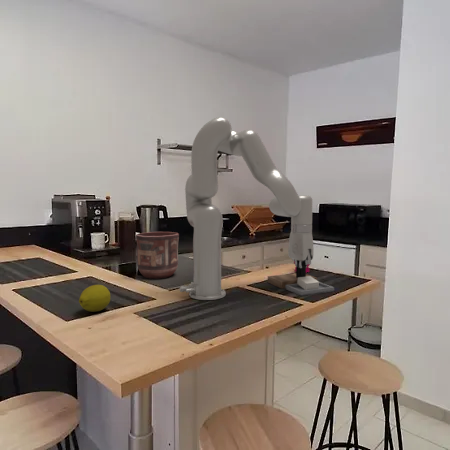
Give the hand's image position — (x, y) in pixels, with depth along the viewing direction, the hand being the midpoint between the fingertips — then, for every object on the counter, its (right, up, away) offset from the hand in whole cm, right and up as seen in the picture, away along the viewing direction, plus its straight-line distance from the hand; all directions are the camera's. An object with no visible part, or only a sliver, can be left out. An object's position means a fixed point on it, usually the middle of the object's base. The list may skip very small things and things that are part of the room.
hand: (300, 277), depth 141 cm
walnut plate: (-2, -3, +5) cm, 6 cm away
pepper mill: (+6, -1, +26) cm, 27 cm away
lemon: (-68, -7, -28) cm, 73 cm away
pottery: (-57, -2, +20) cm, 60 cm away
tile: (+2, -3, -3) cm, 4 cm away
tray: (+2, -4, -5) cm, 6 cm away
